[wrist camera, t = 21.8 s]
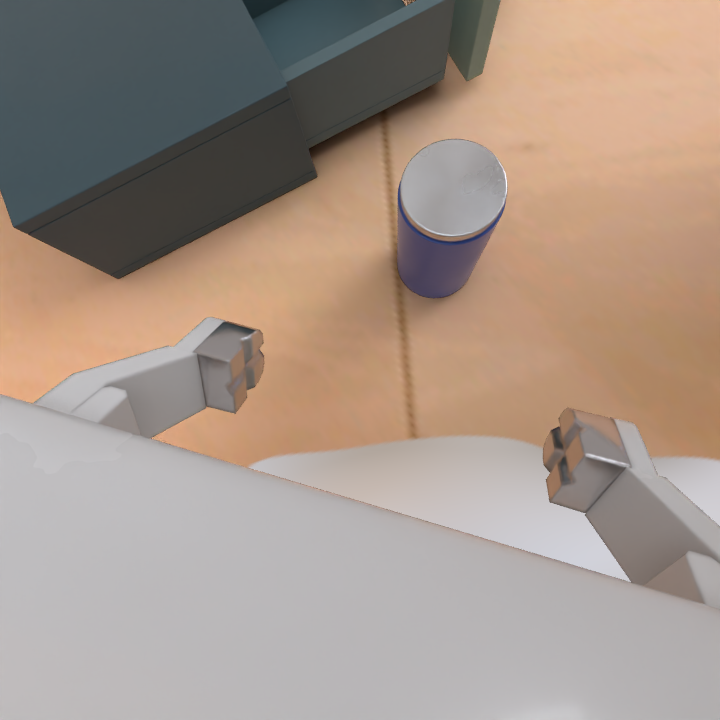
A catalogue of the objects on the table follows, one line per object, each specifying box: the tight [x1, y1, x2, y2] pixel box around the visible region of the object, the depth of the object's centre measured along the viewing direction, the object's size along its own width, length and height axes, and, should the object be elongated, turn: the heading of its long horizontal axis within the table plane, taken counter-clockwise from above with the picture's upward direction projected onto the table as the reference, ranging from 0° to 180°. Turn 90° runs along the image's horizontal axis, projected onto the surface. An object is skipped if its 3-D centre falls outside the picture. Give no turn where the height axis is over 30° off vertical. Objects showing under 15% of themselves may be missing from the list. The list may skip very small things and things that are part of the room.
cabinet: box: [0, 0, 317, 279], centre depth 24 cm, size 16×14×8 cm
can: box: [397, 139, 508, 298], centre depth 21 cm, size 5×5×8 cm
